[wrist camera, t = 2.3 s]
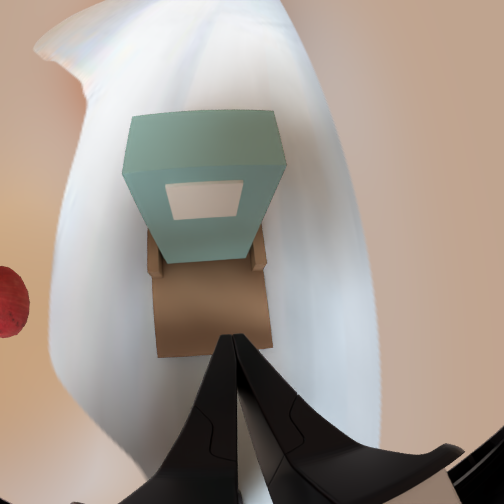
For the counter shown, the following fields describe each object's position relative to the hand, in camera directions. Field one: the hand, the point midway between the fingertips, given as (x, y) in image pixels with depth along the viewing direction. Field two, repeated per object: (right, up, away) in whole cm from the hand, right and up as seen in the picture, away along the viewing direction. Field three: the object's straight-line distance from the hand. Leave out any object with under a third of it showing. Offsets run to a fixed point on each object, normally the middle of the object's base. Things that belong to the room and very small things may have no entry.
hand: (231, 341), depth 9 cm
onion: (-20, -2, +8) cm, 22 cm away
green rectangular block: (-3, +4, +11) cm, 12 cm away
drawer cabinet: (-3, +2, +12) cm, 13 cm away
